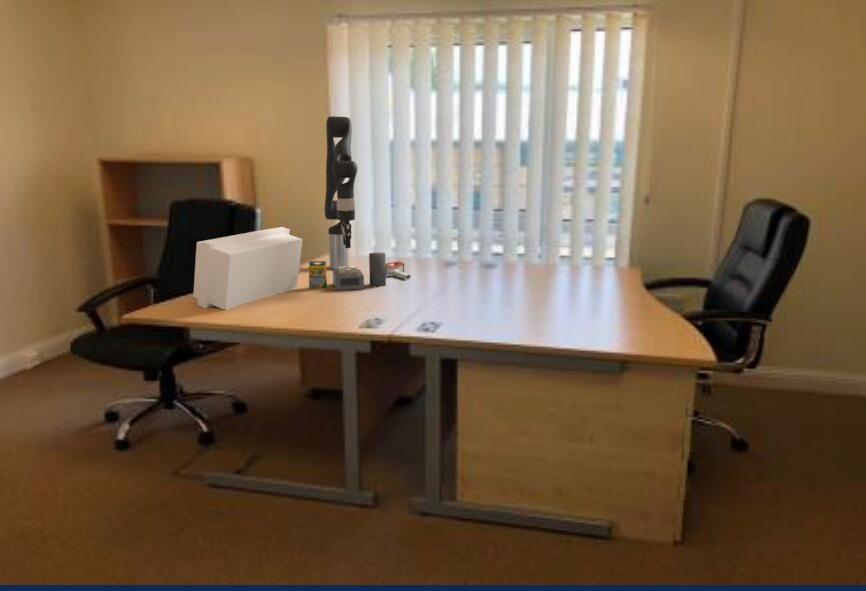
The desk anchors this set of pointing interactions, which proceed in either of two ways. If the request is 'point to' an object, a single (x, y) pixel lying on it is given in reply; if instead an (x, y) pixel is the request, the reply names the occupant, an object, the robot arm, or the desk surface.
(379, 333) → the desk surface
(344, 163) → the robot arm
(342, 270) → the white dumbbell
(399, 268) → the tape dispenser
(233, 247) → the light box
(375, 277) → the grey round-ended cylinder
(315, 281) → the crayon box
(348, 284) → the panel
